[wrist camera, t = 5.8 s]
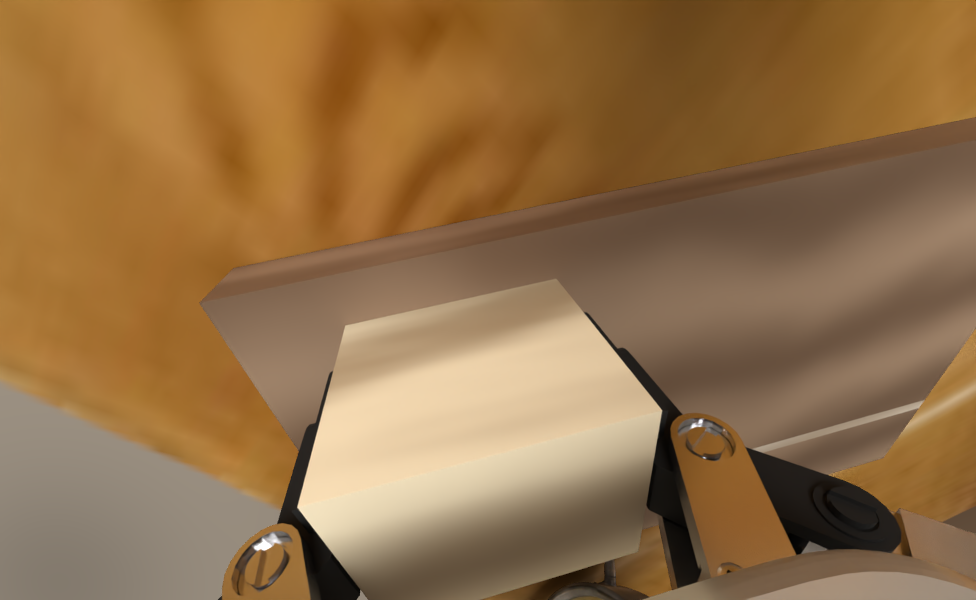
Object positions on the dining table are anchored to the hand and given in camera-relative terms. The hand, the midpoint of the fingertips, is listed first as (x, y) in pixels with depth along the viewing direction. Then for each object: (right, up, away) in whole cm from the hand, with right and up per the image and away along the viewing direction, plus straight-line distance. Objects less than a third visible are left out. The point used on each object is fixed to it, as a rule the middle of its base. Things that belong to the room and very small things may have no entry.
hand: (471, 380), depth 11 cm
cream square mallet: (0, -3, +3) cm, 4 cm away
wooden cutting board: (+8, -1, +6) cm, 10 cm away
